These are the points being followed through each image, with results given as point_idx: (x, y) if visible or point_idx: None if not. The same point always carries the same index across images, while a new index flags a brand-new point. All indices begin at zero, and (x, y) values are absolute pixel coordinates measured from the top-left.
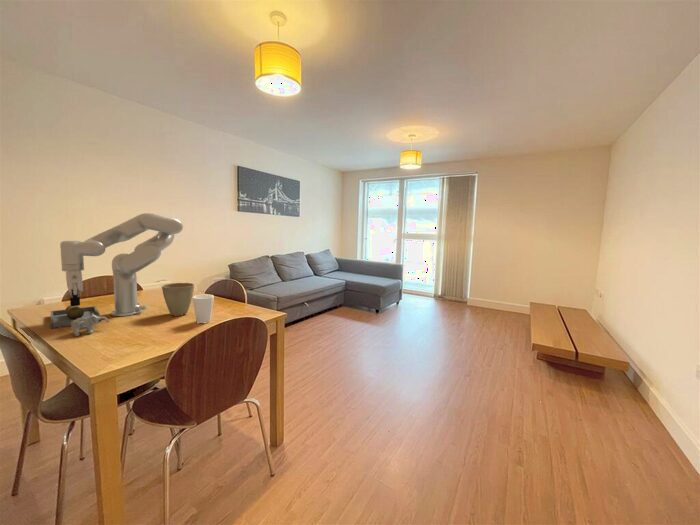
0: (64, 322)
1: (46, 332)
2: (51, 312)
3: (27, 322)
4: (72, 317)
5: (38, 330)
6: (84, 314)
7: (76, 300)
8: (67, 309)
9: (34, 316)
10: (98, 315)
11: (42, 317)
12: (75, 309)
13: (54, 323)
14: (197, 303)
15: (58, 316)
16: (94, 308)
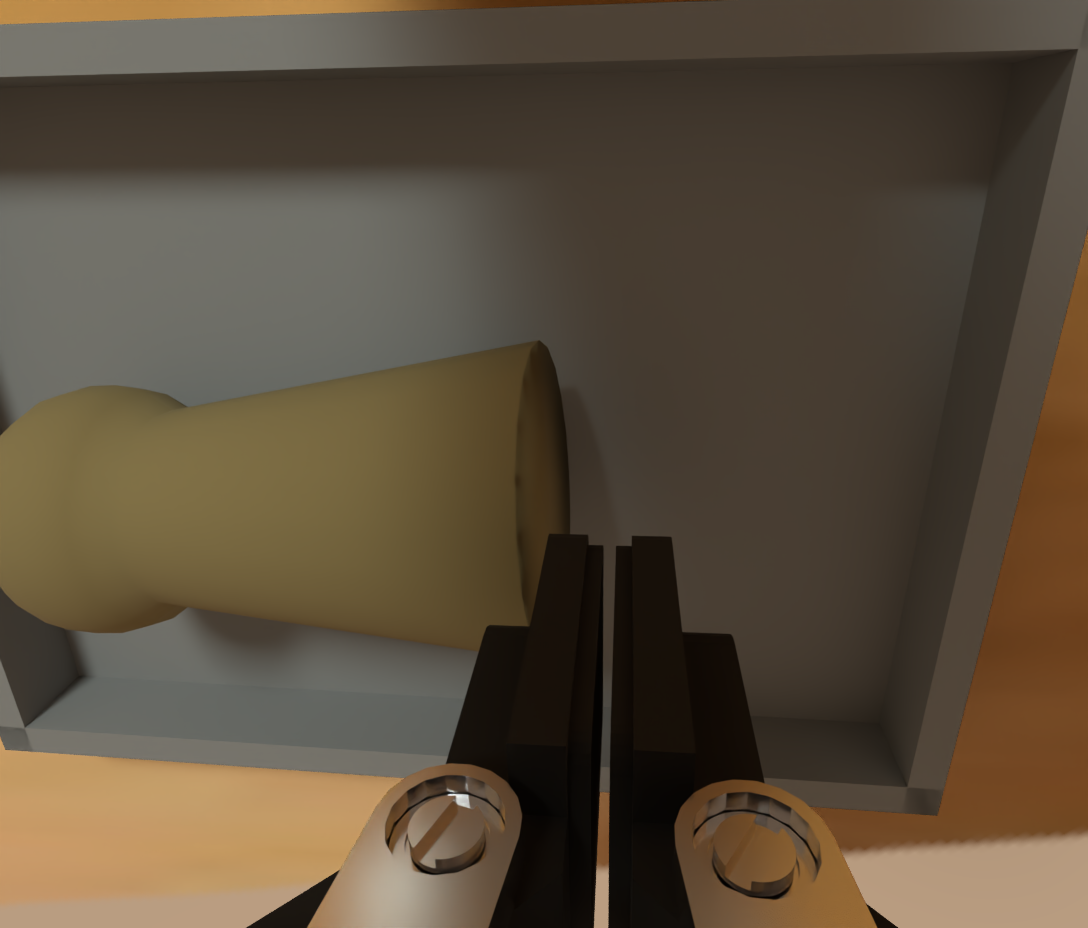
0: (964, 651)
1: (1067, 786)
2: (108, 749)
3: (316, 883)
4: (565, 511)
5: (858, 837)
6: (217, 286)
7: (747, 751)
8: (177, 608)
9: (11, 817)
10: (961, 34)
11: (108, 761)
12: (529, 543)
13: (942, 768)
14: None
15: (185, 630)
16: (26, 76)
